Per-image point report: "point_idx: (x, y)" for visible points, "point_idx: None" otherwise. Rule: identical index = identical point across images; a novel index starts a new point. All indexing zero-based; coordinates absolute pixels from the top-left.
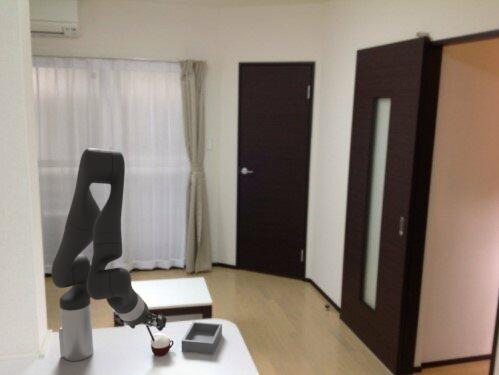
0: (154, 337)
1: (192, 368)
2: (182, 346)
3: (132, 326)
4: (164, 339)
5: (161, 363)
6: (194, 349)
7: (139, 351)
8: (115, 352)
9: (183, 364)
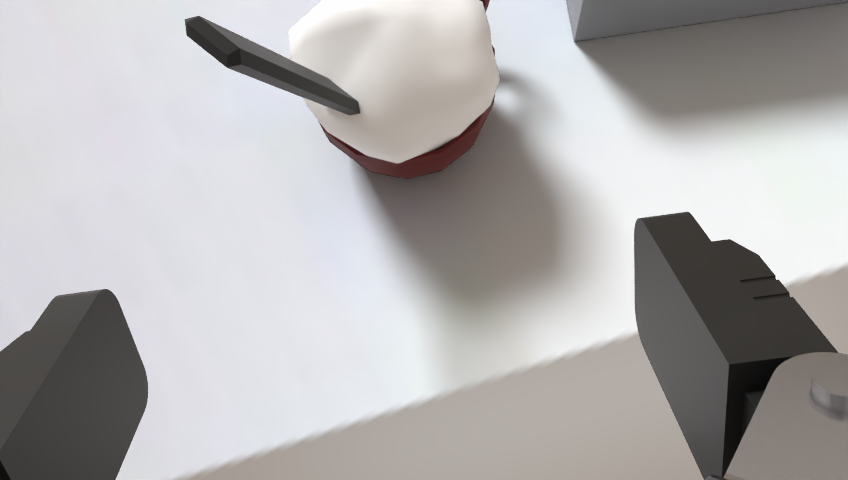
0: (332, 61)
1: (802, 244)
2: (589, 12)
3: (111, 473)
4: (451, 56)
5: (492, 258)
6: (701, 5)
7: (214, 149)
8: (16, 227)
9: (690, 211)
